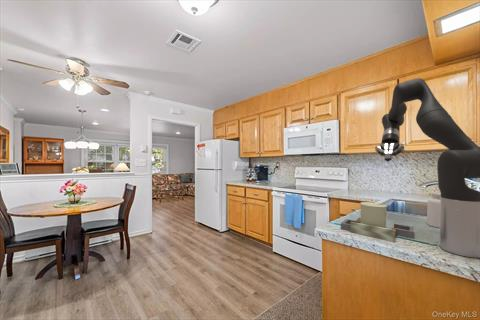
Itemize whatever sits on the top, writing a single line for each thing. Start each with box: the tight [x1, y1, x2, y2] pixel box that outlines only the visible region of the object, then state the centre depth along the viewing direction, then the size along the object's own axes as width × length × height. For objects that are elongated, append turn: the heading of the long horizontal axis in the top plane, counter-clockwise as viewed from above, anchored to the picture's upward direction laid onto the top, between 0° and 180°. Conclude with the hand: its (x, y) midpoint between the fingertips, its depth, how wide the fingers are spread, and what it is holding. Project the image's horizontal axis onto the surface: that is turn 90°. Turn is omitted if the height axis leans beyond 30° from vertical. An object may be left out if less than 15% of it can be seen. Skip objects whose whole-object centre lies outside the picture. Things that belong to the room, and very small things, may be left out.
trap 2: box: [396, 223, 415, 239], centre depth 82 cm, size 5×8×2 cm, turn 139°
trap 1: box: [340, 218, 357, 232], centre depth 89 cm, size 4×9×2 cm, turn 139°
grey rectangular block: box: [360, 201, 388, 228], centre depth 84 cm, size 9×9×12 cm
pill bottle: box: [426, 192, 441, 229], centre depth 93 cm, size 8×8×15 cm
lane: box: [349, 217, 399, 243], centre depth 85 cm, size 14×17×4 cm
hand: (387, 160), depth 102 cm, fingers closed
